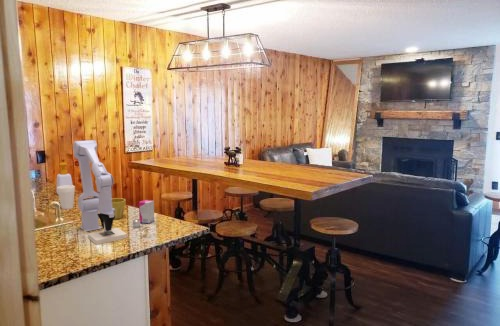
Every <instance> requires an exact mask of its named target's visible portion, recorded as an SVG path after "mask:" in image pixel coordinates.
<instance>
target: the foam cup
mask: <svg viewBox="0 0 500 326" xmlns="http://www.w3.org/2000/svg"><path fill="white" fill-rule="evenodd" d="M56 191H57V192H58V194H57V195H58V200H59V203H60V207H61V209H62V210H70V209H71V210H72V209H73V208H74V202H75V191H76V186H75V185H64V186H59V187H57V186H56Z"/></svg>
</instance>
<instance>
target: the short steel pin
mask: <svg viewBox="0 0 500 326" xmlns="http://www.w3.org/2000/svg"><path fill="white" fill-rule="evenodd" d="M132 228H133V229H140V228H141V223H140V218H138V219H137V218H136V219H132Z"/></svg>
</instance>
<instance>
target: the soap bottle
mask: <svg viewBox="0 0 500 326" xmlns="http://www.w3.org/2000/svg"><path fill="white" fill-rule="evenodd" d="M58 165H59V166H60V168H61V169H60V170H59V173H58V174H57V175H56V188H57V187H59V186H64V185H73V180H72V179H73V178H72V175H71V173H68V169H66V167H67V165H68V163H67V162H59V164H58ZM55 191H56V194H57V195H58V192H57V190H55Z"/></svg>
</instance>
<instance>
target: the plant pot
mask: <svg viewBox="0 0 500 326" xmlns="http://www.w3.org/2000/svg"><path fill="white" fill-rule="evenodd" d="M125 207H126V198H122V197H115V198H114V197H112V208H114V209H115V211H113V213H114V215H115V218H114V220H119V219H122V218H123V215H124V211H125Z"/></svg>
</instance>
